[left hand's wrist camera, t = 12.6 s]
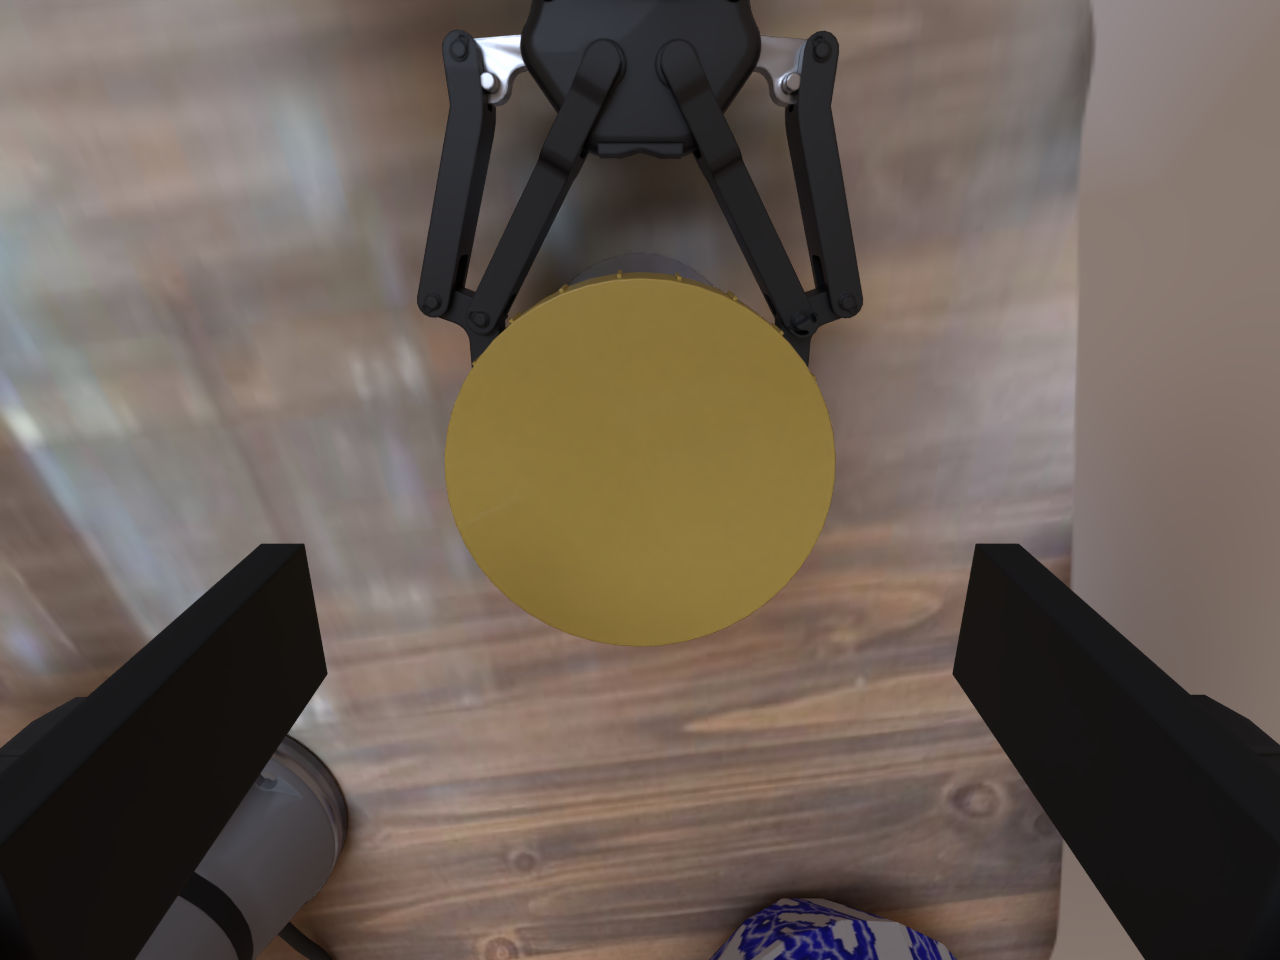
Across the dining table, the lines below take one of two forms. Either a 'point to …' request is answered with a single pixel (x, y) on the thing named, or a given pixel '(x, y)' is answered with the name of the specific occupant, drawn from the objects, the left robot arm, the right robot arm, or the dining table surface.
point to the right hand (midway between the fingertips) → (639, 481)
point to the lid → (640, 460)
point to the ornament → (826, 935)
